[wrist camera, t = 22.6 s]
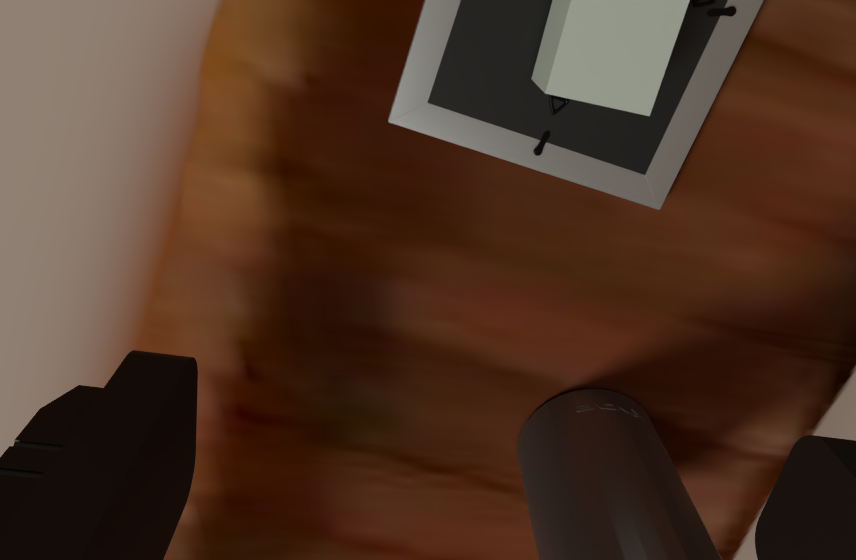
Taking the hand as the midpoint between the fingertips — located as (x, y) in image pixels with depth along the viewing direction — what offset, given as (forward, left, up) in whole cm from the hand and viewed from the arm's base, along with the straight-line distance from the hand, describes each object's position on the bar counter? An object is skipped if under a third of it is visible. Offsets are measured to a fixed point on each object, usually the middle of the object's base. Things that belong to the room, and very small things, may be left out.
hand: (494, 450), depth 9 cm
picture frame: (+7, -7, -31) cm, 33 cm away
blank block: (+6, -8, -28) cm, 30 cm away
